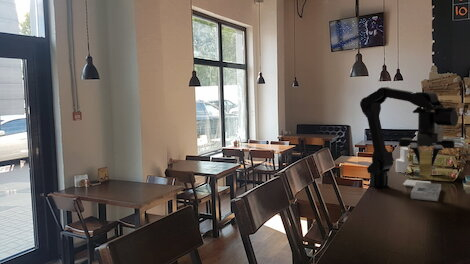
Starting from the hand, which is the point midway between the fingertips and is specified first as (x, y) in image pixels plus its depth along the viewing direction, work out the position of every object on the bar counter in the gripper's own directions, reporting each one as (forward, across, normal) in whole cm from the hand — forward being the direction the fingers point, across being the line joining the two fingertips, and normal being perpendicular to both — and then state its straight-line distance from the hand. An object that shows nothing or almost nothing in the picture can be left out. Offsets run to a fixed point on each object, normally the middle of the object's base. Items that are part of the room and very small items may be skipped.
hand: (425, 165), depth 143 cm
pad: (+12, -5, +19) cm, 23 cm away
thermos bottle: (+12, -1, +44) cm, 46 cm away
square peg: (+4, 0, 0) cm, 4 cm away
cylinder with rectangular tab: (+12, -13, +45) cm, 49 cm away
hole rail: (+12, 0, +4) cm, 13 cm away
